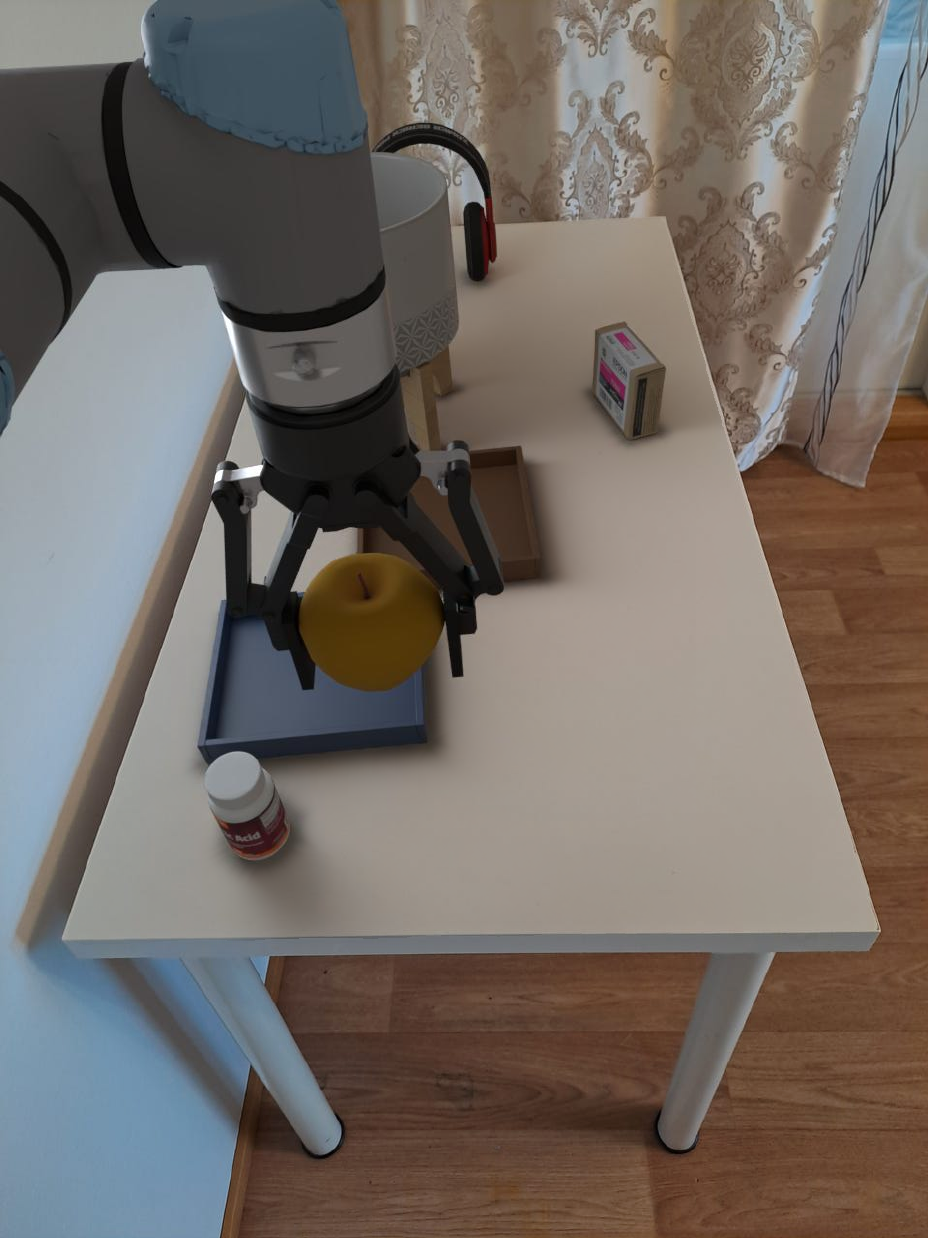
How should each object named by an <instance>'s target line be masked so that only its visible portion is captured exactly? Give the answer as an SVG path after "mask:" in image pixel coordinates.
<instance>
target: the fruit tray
mask: <svg viewBox="0 0 928 1238" xmlns="http://www.w3.org/2000/svg"><path fill="white" fill-rule="evenodd" d="M305 592H306V591H301V592H299V591H298V592H297V594H298V597H299V601H300V604H301V602H302V598H303V595H304V593H305ZM216 623H217V624H216V630H215V635H214V642H213V647H212V648H213V649H212V654H211V661H210V665H209V673H208V678H207V686H206V691H205V697H204V703H203V710H202V716H201V723H200V729H199V734H198V740H197V741H198V742H197V748H198V750H199V752H200V755H201V756H202V758H203V760H204V762H205V764H206V765H211V764H212V763H213V762H214V761H215V760H216V759H217V758H219V757H220V756H222V755H225V754H227V753H231V752H246V753H249V754H251V755H252V756H254V757H255V758H256V759H257V760H263V759H272V758H283V757H294V756H303V755H305V756H306V755H313V754H316V755H317V754H324V753H326V754H327V753H335V752H346V751H356V750H364V749H365V750H366V749H376V748H386V747H387V748H388V747H397V746H398V747H399V746H406V745H416V744H417V745H418V744H427V743H428V730H427V729H428V728H427V705H426V685H425V665H424V664H425V662H424V663H423V665H422V666H421V667H420V668H419V670H418V671H417V672H416V673H414V674H413V675H412V676H411V677H410V678H409V679H407V680H406V681H405V682H403V683H402V684H400V685H399V686H397V687H395V688H392V689H390V690H388V691H377V692H367V691H362V690H358V689H354V688H351V687H347V686H343V685H341V684H340V683H338V682H336V681H335V680H333V679H332V678H331V677H329V676H328V675H326V674H325V673H324V672H323V671H322V670H321V669H320V668H319V667H318V666H317V665H316V669H315V682H314V689H312V690H302V687H301V684H300V681H299V678H298V675H297V672H296V668H295V665H294V662H293V659H292V656H291V653H290V650H285V651H277V650H276V649H275V648H274V647H273V646H272V643H271V640H270V637H269V634H268V631H267V628H266V625H265V622H264V621H263V620H262V619H261V618H260V616H258V615H255V614H249V613H247V615H246V616H244V617H242V618H235V617H232V616H230V615H229V614H228V613H227V605H226V599H221V600H220V605H219V610H218V618H217V622H216Z"/></svg>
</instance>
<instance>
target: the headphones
mask: <svg viewBox="0 0 928 1238" xmlns="http://www.w3.org/2000/svg"><path fill="white" fill-rule="evenodd" d="M416 145H434V146H439V147H441V148H446V149H447V150H450V151H452V152H454V153H455V154H458V155H459V156H460V158H462V159H464V160H465V161H466V162H467V164H468V165H469V166H470V167H471V169H472V170H473V172H474V174H475V176H476V178H477V180H478V182H479V186H480V187H481V190H482V193H483V198H484V205H485V207H484V206H483V205H481V204H480V202H478V201H470V202H467V203H466V204H465V205H464V207H463V212H462V217H463V220H462V221H463V233H464V245H465V248H464V249H465V260H466V271H467V275H468V277H469V279H470V280H472V281H473V282H481V281H484V280H485V279H486V277H487V276H488V275H489V267H490V263H491V264H494V263H495V262H496V260H497V258H498V245H497V231H496V223H495V222H494V205H493V196H492V188H491V178H490V172H489V169H488V167H487V163H486V161H485V160H484V157H483V156H482V154H481V152H479V150H478V149H477V147H476V146H475V145H474V144H473V143H472V142H471V141H470V140H468V138H467V137H466V136H465V135H463V134H461V133H460V132H458V131H457V130H456V129H453V128H451V127H448V126H446V125H445V124H440V123H435V122H414V123H410V124H409V123H408V124H405V125H403V126H401V127H400V126H399V127H398V128H395V129H394V130H393V131H391V132H389V133H388V134H386V135H385V136H384V137H383V138H382V139H380V141H378V142H377V144H376V145H375V146H374V147H373V149H372V150H371V152H388V153H397V152H398V151H400V150H402V149H405V148H408V147H410V146H416Z"/></svg>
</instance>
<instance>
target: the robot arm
mask: <svg viewBox="0 0 928 1238" xmlns="http://www.w3.org/2000/svg"><path fill="white" fill-rule="evenodd" d="M345 16H346V15H345V14H344V12H343V9H342V7H341V6H340V4H339V2H338V1H337V0H154V1H153V2H152V3H151V4H150V5H149V6H148V7H147V9H145V11H144V14H143V16H142V19H141V25H140V33H141V38H142V43H143V47H144V52H143V54H142V57H138V58H137V59H135V60H133V61H122V62H106V63H88V64H87V63H85V64H69V65H66V64H65V65H51V66H49V65H48V66H31V67H30V66H29V67H13V68H12V67H11V68H0V438H2V436H3V433H4V431H5V429H6V428H7V426H8V425H9V423H10V421H11V419H12V411H13V406H15V403H16V402H17V400H18V398H19V397H20V395H21V394H22V392H23V390H24V389H25V387H26V385H27V383H28V382H29V380H30V378H31V377H32V375H33V374H34V372H35V371H36V369H37V367H38V366H39V363H40V362H41V360H42V359H43V357H44V355H45V354H46V352H47V350H48V348H49V347H50V345H51V344H52V343H53V342H54V341H55V339H56V338H57V337H59V335H60V333H61V332H62V331H63V329H64V328H65V326H66V325H67V323H68V322H69V320H70V318H71V317H72V316H73V314H74V312H75V310H76V309H77V307H78V306H79V304H80V303H81V301H82V300H83V298H84V296H85V295H86V293H87V292H88V290H89V288H90V287H91V285H92V284H93V282H94V281H95V279H96V277H97V276H98V275H99V274H100V275H101V274H103V273H108V272H110V273H111V272H129V271H130V272H132V271H150V270H166V269H179V268H183V267H188V266H203V267H205V268H206V270H207V272H208V275H209V278H210V280H211V282H212V285H213V290H214V293H215V296H216V301H217V304H218V307H219V311H220V314H221V318H222V320H223V324H224V327H225V331H226V334H227V337H228V341H229V345H230V347H231V351H232V354H233V358H234V361H235V363H236V367H237V371H238V375H239V378H240V380H241V382H242V385H243V387H244V388H245V401H246V404H247V407H248V410H249V414H250V418H251V421H252V425H253V428H254V431H255V436H256V439H257V442H258V445H259V449H260V453H261V455H262V460H261V464H258V465H254V466H253V465H252V466H248V467H243V468H240V467H239V465H238V464H237V463H236V462H234V461H231V460H222V461H221V462H219V463H218V464H217V465H216V466H217V467H216V470H215V471H216V472H215V475H214V482H213V484H212V490H211V495H210V498H211V502H212V504H213V506H214V508H215V509H216V512H217V514H218V515H219V518H220V519H221V522H222V523H223V538H224V539H223V542H224V543H223V544H224V570H225V575H224V576H225V597H226V599H225V600H226V605H227V613H228V614H229V615H230V616H232V617H235V618H242V617H244V616H246V615H247V613H249V614H255V615H258V616H260V618H261V619H262V620H263V621H264V622H265V625H266V628H267V631H268V634H269V637H270V640H271V643H272V646H273V647H274V648H275V649H276V650H277V651H285V650H290V653H291V656H292V659H293V662H294V665H295V668H296V672H297V675H298V678H299V681H300V684H301V687H302V690H312V689H314V682H315V669H316V664H315V662H314V661H313V660H312V659H311V657H310V654H309V652H308V650H307V647H306V645H305V643H304V641H303V638H302V636H301V634H300V632H299V626H298V612H299V609H300V605H301V604H300V601H299V597H298V594H297V593H298V590H294V591H292V589H293V586H294V585H295V582H296V579H297V577H298V575H299V572H300V570H301V567H302V564H303V562H304V559H305V558H306V555H307V552H308V550H310V549H311V547H312V546H313V543H314V541H315V538H316V535H317V533H318V530H319V529H321V530H322V533H332V532H340V531H343V530H346V529H349V528H353V529H357V528H362V529H370V528H379V526H380V527H381V528H382V529H383V530H384V531H385V532H386V533H387V534H388V536H389V537H390V538H391V539H392V540H393V541H395V542H396V541H400V542H401V544H402V545H403V546H404V547H405V548H406V549H407V550H408V551H409V552H410V553H411V554H412V556H413V557H414V558H415V559H416V560H417V561H418V562H419V563H420V564H421V565H422V566H423V568H424V569H425V570H426V571H427V572H428V573H429V574H430V575H431V576H432V577H433V578H434V580H435V581H436V582H437V583H438V584H439V585H440V586H441V589H442V602H443V604H444V615H445V631H446V638H447V646H448V647H447V648H448V655H449V663H450V670H451V678H452V679H454V678H455V679H456V678H464V677H465V675H464V664H463V661H464V660H463V648H462V647H463V645H462V637H461V636H466V635H475V634H476V632H477V630H478V620H477V607H476V601H477V599H478V598H479V597H480V596H482V595H484V594H486V595H488V596H492V597H494V596H495V597H496V596H499V595H501V594H502V593H503V592H504V590H505V585H504V584H505V581H503V573H502V565H501V558H500V555H499V553H498V550H497V548H496V545H495V542H494V540H493V537H492V535H491V532H490V530H489V527H488V525H487V522H486V520H485V517H484V515H483V512H482V510H481V507H480V505H479V502H478V499H477V497H476V494H475V492H474V489H473V487H472V484H471V467H470V456H469V451H470V449H469V445H468V443H467V442H466V441H464V440H462V439H455V440H452V441H450V442H449V443H448V444H447V447H446V450H442V451H421V450H420V447H418V445H417V444H416V443H415V442H414V441H413V439H412V438H411V436H410V434H409V431H408V425H407V423H408V422H407V416H406V409H405V408H404V401H403V394H402V386H401V379H400V372H399V369H398V366H397V364H396V363H395V362H396V357H397V349H396V342H395V334H394V327H393V319H392V311H391V304H390V296H389V289H388V281H387V277H386V274H385V267H384V260H383V253H382V245H381V237H380V229H379V220H378V212H377V204H376V196H375V188H374V179H373V171H372V163H371V155H370V152H371V148H370V137H369V119H368V112H367V110H366V109H365V108H364V106H363V104H362V98H361V91H360V87H359V83H358V76H357V72H356V66H355V61H354V56H353V51H352V45H351V39H350V36H349V31H348V24H347V18H346V17H345ZM420 476H424V477H427V478H428V479H430V480H431V482H432V485H433V487H434V488H435V489H436V490H437V491H438V493H439V494H440V495H441V496H446V495H448V505H449V509H450V512H451V515H452V517H453V519H454V522H455V524H456V526H457V529H458V531H459V533H460V536H461V538H462V540H463V543H464V545H465V547H466V550H467V552H468V554H469V557H470V559H471V561H472V564H473V565H472V566H470V565H469V564H468V563H467V562H466V561H465V559H464V558H463V557H462V556H461V555H460V554H459V552H458V551H457V550H456V549H455V548H454V547H453V545H452V544H451V543H450V542H449V541H448V540H447V538H446V537H445V536H444V535H443V534H442V533H441V531H440V530H439V529H438V528H437V527H436V526H435V524H434V523H433V522H432V521H431V520H430V519H429V517H428V516H427V515H426V514H425V513H424V512H423V511H422V509H421V508H420V507H419V506H418V505H417V503H416V502H415V499H414V497H413V494H412V493H411V491H410V490H411V489H412V487H413V486H414V485H415V483H416V482H417V481H418V479H419V477H420ZM263 491H264V492H265V493H266V494H267V495H268V496H270V497H272V498H273V499H274V500H276V501H277V502H278V503H279V504H281V506H283V507H285V508H286V509H287V510H289V511H290V512H289V513H290V514H289V515H288V516H289V517H288V519H287V521H286V525H285V527H284V530H283V532H282V534H281V537H280V540H279V542H278V546H277V548H276V550H275V553H274V556H273V559H272V561H271V564H270V567H269V569H268V572H267V575H266V576H265V575H264V578H263V584H262V583H255V582H252V581H253V577H252V575H253V574H252V572H253V571H252V570H253V569H252V560H253V557H252V554H253V552H252V551H253V550H252V540H253V539H252V509H254V508H256V507H257V505H258V500H259V494H260V493H261V492H263Z"/></svg>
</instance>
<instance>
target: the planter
mask: <svg viewBox="0 0 928 1238" xmlns="http://www.w3.org/2000/svg"><path fill="white" fill-rule="evenodd" d="M370 155H371V163H372V171H373V179H374V188H375V196H376V204H377V212H378V220H379V229H380V237H381V245H382V253H383V260H384V267H385V274H386V277H387V281H388V289H389V296H390V304H391V311H392V319H393V327H394V334H395V342H396V349H397V357H396V362H395V363H396V364H397V366H398V369H399V372H400V379H401V386H402V394H403V401H404V408H405V412H406V413H407V415H408V417H409V419H410V422H411V423H412V426H413V429H414V431H415V435H416V437H417V440H418V445H419V450H420V451H443V449H442V442H441V434H440V427H439V425H440V424H439V419H438V418H439V417H438V416H439V415H438V409H437V401H436V400H437V399H436V394H437V395H438V396H440V397H442V396H445V395H447V394H449V393H450V392H452V391H454V384H453V375H452V365H451V354H450V344H451V343H452V342H453V340H454V339H455V338H456V336H457V333H458V331H459V326H460V315H459V304H458V303H459V302H458V292H457V281H456V270H455V269H456V268H455V259H454V248H453V247H454V246H453V236H452V223H451V214H450V201H449V191H448V182H447V177H446V176H445V174H444V173H443V171H442V170H441V169H440V168H438V166H436V165H435V164H433V163H432V162H429V161H427V160H425V159H423V158H420V157H417V156H413V155H408V154H403V153H397V152H395V153H388V152H372V151H370Z"/></svg>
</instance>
